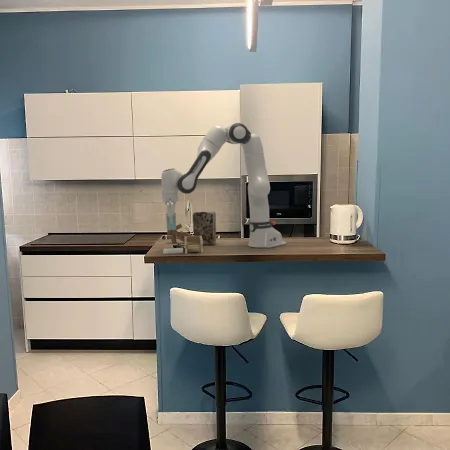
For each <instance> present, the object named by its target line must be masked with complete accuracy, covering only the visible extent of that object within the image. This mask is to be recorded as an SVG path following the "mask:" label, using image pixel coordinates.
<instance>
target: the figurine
mask: <svg viewBox="0 0 450 450" xmlns="http://www.w3.org/2000/svg"><path fill="white" fill-rule="evenodd" d="M182 228H183V225H182V224H181V223H179V224H176V230H166V231H167V232H166V235H169V236H170V239H171V240H170V241H171V244H176V243H177V240H180V241H181V242H183V243H185V240H184V236H193V235H192V234H191V233H189V232H188V231H182V230H180V229H182ZM179 230H180V231H179Z"/></svg>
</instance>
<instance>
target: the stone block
mask: <svg viewBox="0 0 450 450" xmlns="http://www.w3.org/2000/svg"><path fill="white" fill-rule="evenodd" d="M216 216H217V214H216V211H210V210H207V211H206V210H205V211H203V210H201V211H200V210H198V211H193V214H192V224H193V225H192V230H193V236H202V239H203V246H204V245H205V246H206V245H207V246H209V245H210V246H211V245H212V246H214V245H216V244H217V220H216V219H217V217H216Z"/></svg>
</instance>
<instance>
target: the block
mask: <svg viewBox="0 0 450 450" xmlns="http://www.w3.org/2000/svg"><path fill="white" fill-rule="evenodd" d="M165 215H166V216H165V217H166V219H165V220H166V231H168V230H176V226H177V220H176V219H177V217H176V215H177V214H176V212H174V216H173V224H170V220H169V217H168V216H167V212H166V214H165ZM176 231H177V230H176Z"/></svg>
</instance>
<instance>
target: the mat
mask: <svg viewBox="0 0 450 450" xmlns="http://www.w3.org/2000/svg"><path fill="white" fill-rule="evenodd" d="M183 253H184V247H176V248H175V247H173V248H171V247H170V248H163V250H162V254H163V255H169V254H183Z"/></svg>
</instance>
